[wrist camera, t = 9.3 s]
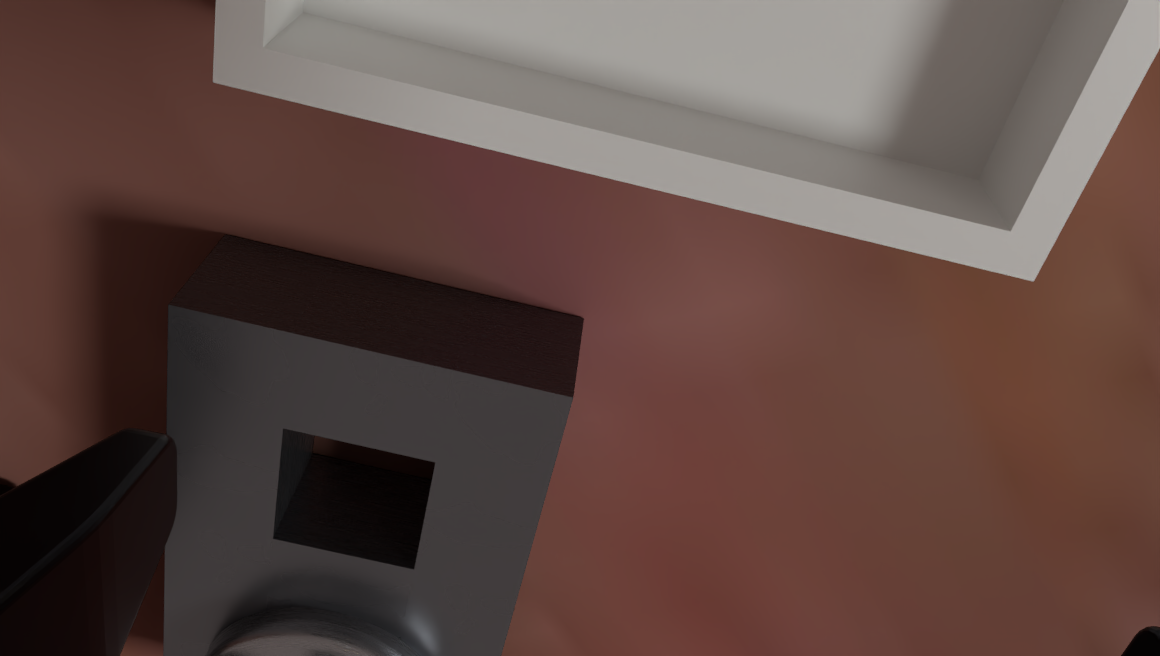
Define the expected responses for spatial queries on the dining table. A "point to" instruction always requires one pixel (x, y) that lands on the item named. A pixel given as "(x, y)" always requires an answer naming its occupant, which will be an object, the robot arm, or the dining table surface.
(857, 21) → the tray
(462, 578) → the block
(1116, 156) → the dining table surface
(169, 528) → the robot arm
